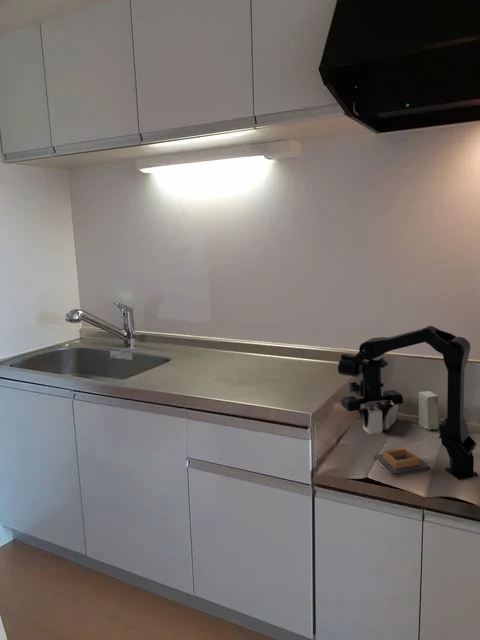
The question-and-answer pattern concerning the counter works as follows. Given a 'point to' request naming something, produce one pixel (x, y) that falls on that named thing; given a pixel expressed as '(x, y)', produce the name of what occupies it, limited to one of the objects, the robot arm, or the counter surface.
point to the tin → (390, 417)
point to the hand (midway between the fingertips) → (372, 425)
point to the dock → (401, 461)
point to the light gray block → (374, 420)
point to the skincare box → (428, 410)
